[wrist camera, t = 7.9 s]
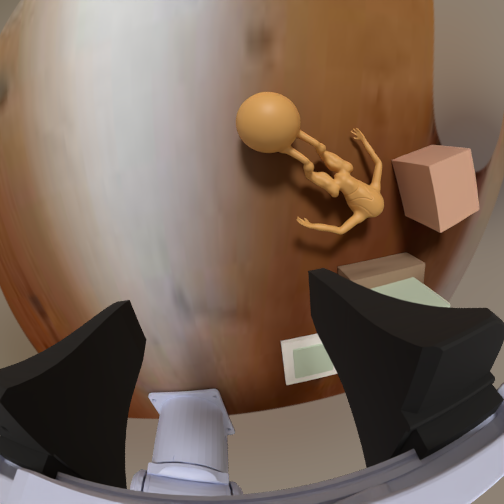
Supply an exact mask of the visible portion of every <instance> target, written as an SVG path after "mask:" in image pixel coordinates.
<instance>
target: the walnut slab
mask: <svg viewBox="0 0 504 504" xmlns="http://www.w3.org/2000/svg"><path fill="white" fill-rule="evenodd" d="M424 271H425V263H424V262H422V261H421V260H419V259H417V258H416V257H414V256H412V255H410V254H409V253H407V252H405V253H400V254H396V255H391V256H387V257H382V258H377V259H373V260H368V261H363V262H359V263H354V264H349V265H344V266H339V267H338V275H340V276H342V277H344V278H346V279H348V280H351V281H353V282H355V283H357V284H359V285H362V286H364V287H366V288H369V289H372V288H375V287H379V286H383V285H387V284H390V283H394V282H398V281H401V280H405V279H408V278H412V277H414V278H416V279H417V280H419V281H420V282H421V283H423V282H424Z"/></svg>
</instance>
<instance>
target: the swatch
mask: <svg viewBox="0 0 504 504" xmlns="http://www.w3.org/2000/svg"><path fill="white" fill-rule="evenodd" d="M281 349H282V357H283V365H284V373H285V381H286V385H290V384H295V383H299V382H304V381H308V380H313V379H317V378H321V377H325V376H329V375H333V374H337V371H336V369H335V367H334V366H333V364H332V362H331V360H330V358H329V356H328V354H327V352H326V350H325V348H324V346H323V344H322V342H321V340H320V338H319V336H318V334H313V335H308V336H304V337H299V338H294V339H289V340H284V341H281Z"/></svg>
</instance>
